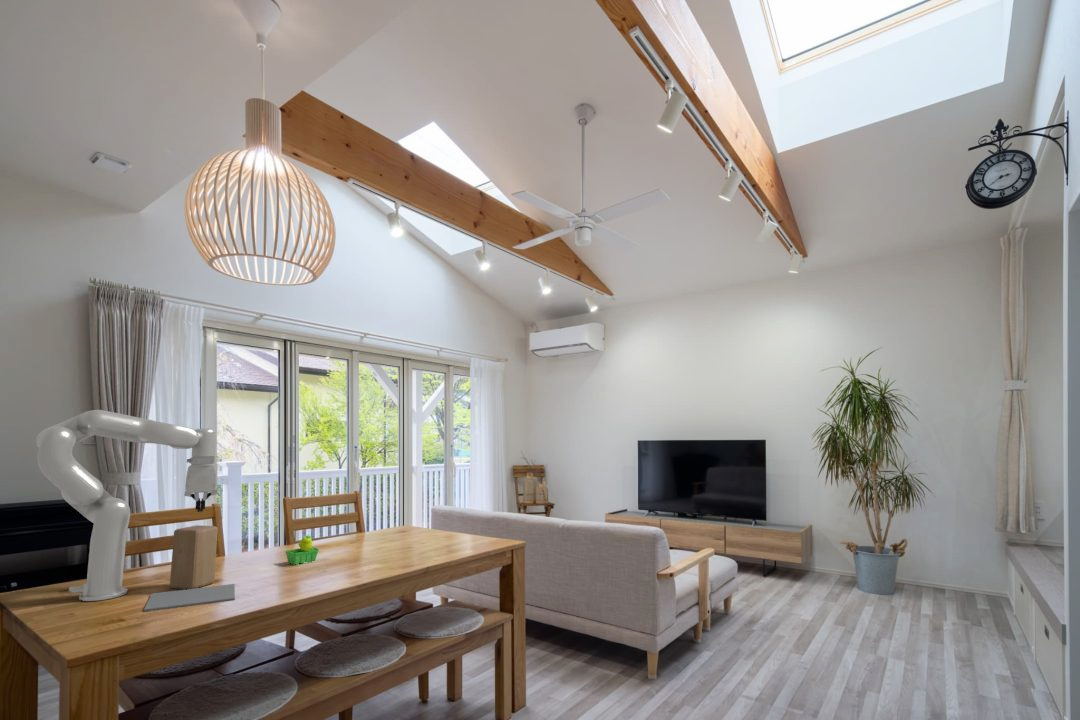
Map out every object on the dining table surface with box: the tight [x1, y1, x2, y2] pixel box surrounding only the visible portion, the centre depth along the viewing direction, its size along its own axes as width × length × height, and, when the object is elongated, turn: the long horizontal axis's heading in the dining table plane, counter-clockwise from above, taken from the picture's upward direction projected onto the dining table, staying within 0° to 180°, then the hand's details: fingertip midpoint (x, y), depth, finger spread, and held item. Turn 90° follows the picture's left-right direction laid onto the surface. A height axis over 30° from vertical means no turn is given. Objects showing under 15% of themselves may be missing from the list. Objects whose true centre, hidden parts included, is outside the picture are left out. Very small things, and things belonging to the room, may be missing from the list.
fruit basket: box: [285, 534, 320, 566], centre depth 233 cm, size 11×9×11 cm
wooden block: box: [169, 524, 219, 590], centre depth 198 cm, size 10×10×20 cm
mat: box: [143, 583, 236, 612], centre depth 183 cm, size 24×20×1 cm
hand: (200, 511), depth 209 cm, fingers closed
